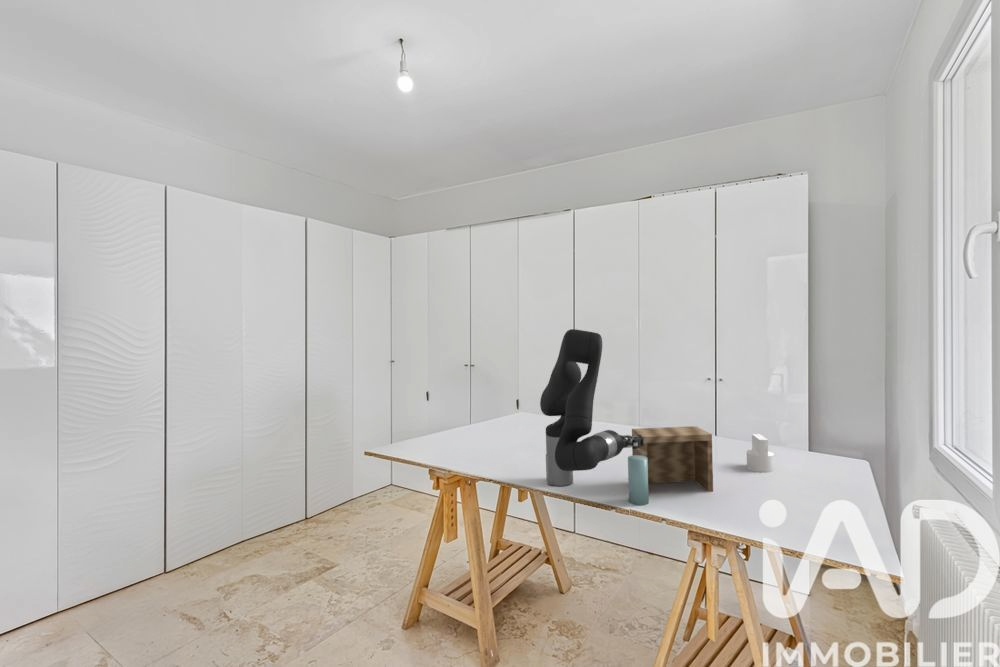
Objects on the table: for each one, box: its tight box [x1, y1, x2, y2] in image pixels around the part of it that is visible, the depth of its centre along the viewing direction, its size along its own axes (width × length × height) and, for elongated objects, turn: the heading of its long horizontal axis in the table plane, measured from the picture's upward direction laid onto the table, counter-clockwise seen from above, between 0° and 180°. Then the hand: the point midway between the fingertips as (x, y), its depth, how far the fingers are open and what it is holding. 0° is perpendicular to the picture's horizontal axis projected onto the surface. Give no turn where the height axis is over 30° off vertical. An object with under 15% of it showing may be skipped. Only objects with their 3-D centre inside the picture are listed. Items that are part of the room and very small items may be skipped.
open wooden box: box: [631, 425, 714, 493], centre depth 165 cm, size 23×12×19 cm, turn 91°
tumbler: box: [627, 455, 650, 506], centre depth 153 cm, size 6×6×14 cm
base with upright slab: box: [746, 433, 775, 474], centre depth 181 cm, size 9×9×12 cm
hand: (626, 437), depth 147 cm, fingers open, 8 cm apart
